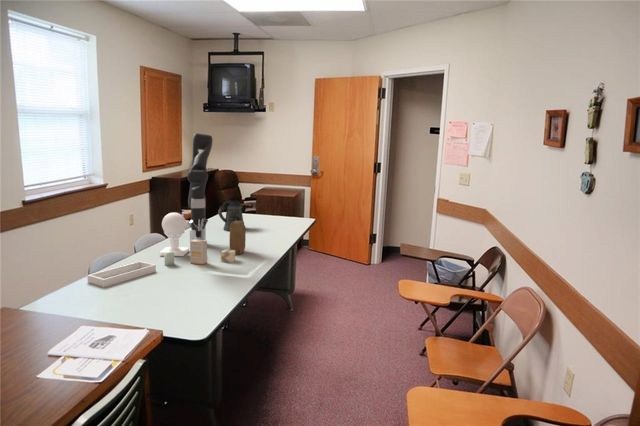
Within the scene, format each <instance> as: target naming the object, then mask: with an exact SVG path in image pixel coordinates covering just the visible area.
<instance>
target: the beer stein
mask: <svg viewBox="0 0 640 426" xmlns="http://www.w3.org/2000/svg"><path fill="white" fill-rule="evenodd" d="M242 208H243V204H242V203H240V202H239V201H238V200H237V199H236V198H234V199H233V198H231V199H229V200H228V201H225V202H223V203H222V205H220V206H219V208H218V211H217V212H218V213H217V214H218V216H219V218H220V219H221V220H222V222H223V223H224V226H223V231H224V232H229V233H230V227H231V226H230V224H231V223H232V222H233V221H244V217H243V211H242ZM223 210H226V211H225V212H226V213H225V217H224V215H223V213H222V212H223ZM244 227H245V228H246V225H245V224H244Z"/></svg>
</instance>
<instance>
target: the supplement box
mask: <svg viewBox="0 0 640 426" xmlns="http://www.w3.org/2000/svg"><path fill="white" fill-rule="evenodd" d="M189 253H190V255H189V256H190V264H193V265H202V266H204V265H205V264H208V240H197V239H194V240H191V241H190V240H189Z"/></svg>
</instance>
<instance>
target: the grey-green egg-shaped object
mask: <svg viewBox="0 0 640 426" xmlns="http://www.w3.org/2000/svg"><path fill="white" fill-rule="evenodd" d="M163 258H164V266H166V267H170V266H174V265H175V256H174V251H166V252H164V256H163Z"/></svg>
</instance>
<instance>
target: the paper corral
mask: <svg viewBox="0 0 640 426" xmlns="http://www.w3.org/2000/svg"><path fill="white" fill-rule="evenodd" d="M156 268H157V265H156V264H155V263H150V262H145V261H141V260H138V261H135V262H133V263H128V264H125V265H121V266H116V267H113V268H108V269H106V270H102V271H98V272H93V273H91V274H88V275H86V276H87V277H86V278H87V283H89V284H91V285H95V286H98V287H102V288H105V287H109V286H112V285H116V284H119V283H123V282H126V281H129V280H132V279H135V278H139V277H142V276H145V275H149V274H151V273H156V271H157V269H156Z"/></svg>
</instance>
